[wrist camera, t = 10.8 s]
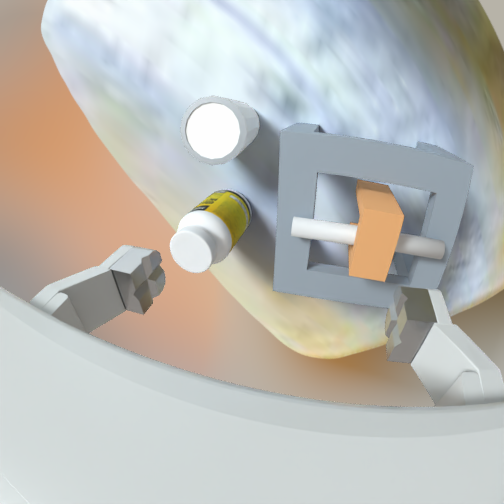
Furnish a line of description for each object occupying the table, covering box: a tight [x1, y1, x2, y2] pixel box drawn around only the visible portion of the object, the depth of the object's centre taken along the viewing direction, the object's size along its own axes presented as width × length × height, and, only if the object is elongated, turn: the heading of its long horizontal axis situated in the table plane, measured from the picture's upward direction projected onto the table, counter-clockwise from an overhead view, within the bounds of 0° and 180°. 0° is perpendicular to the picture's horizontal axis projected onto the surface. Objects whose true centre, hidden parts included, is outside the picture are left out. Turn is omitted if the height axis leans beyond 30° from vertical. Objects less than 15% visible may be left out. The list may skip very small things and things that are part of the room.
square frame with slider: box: [273, 123, 474, 309], centre depth 26 cm, size 15×16×12 cm
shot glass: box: [180, 96, 260, 165], centre depth 27 cm, size 7×7×7 cm
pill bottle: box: [170, 189, 252, 273], centre depth 32 cm, size 6×6×11 cm
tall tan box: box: [348, 180, 404, 282], centre depth 22 cm, size 6×3×8 cm, turn 178°
